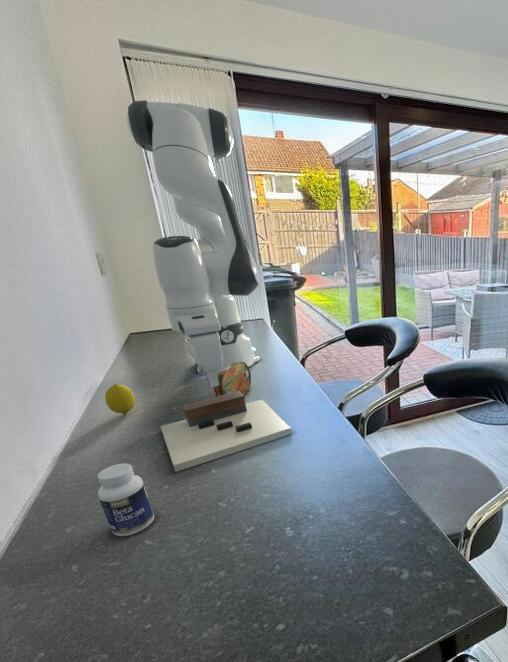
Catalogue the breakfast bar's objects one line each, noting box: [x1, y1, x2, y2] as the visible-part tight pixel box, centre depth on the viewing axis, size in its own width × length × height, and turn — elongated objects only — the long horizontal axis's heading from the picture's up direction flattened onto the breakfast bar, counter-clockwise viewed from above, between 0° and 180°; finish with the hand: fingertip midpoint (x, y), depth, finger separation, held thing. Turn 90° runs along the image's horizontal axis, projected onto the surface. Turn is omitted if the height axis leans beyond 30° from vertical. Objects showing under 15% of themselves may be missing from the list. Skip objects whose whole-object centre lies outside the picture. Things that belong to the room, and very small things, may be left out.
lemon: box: [104, 383, 136, 415], centre depth 96 cm, size 6×6×8 cm
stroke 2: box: [216, 421, 233, 431], centre depth 86 cm, size 1×3×1 cm, turn 128°
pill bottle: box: [97, 462, 155, 537], centre depth 59 cm, size 5×5×10 cm
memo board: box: [160, 398, 292, 473], centre depth 87 cm, size 20×22×2 cm
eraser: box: [181, 391, 247, 427], centre depth 91 cm, size 4×12×4 cm, turn 128°
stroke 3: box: [235, 422, 252, 432], centre depth 85 cm, size 1×3×1 cm, turn 128°
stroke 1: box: [198, 420, 215, 429], centre depth 87 cm, size 1×3×1 cm, turn 128°
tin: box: [213, 362, 252, 397], centre depth 104 cm, size 15×3×8 cm, turn 179°
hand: (209, 380), depth 88 cm, fingers open, 8 cm apart
